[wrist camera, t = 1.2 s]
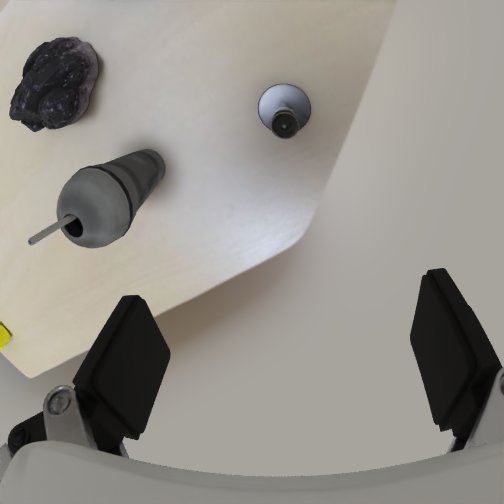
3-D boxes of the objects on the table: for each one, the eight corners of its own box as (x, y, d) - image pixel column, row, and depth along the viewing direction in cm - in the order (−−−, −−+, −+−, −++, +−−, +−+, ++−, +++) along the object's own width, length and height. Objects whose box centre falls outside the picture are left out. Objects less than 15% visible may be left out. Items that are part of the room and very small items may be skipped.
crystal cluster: (22, 76, 28) (-29, 96, 20) (79, 11, 23) (21, 14, 15) (62, 144, 34) (14, 175, 27) (125, 87, 29) (72, 107, 21)
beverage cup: (136, 203, 36) (40, 305, 19) (112, 152, 33) (-8, 227, 16) (185, 184, 34) (98, 292, 17) (161, 128, 31) (41, 191, 14)
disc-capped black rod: (309, 84, 27) (332, 83, 14) (309, 131, 30) (330, 173, 17) (258, 84, 28) (234, 82, 14) (260, 131, 30) (239, 172, 17)
